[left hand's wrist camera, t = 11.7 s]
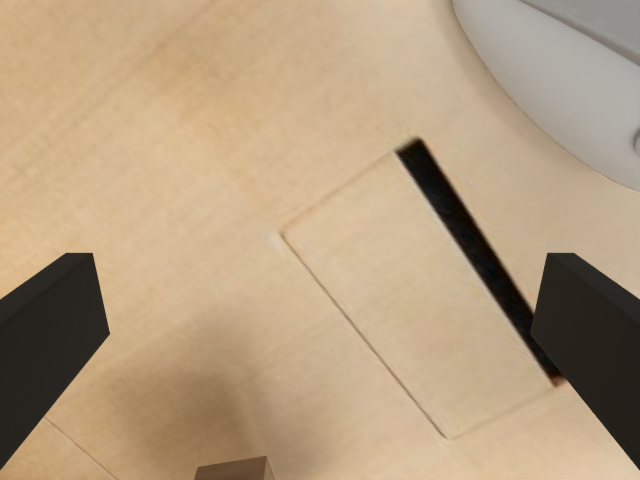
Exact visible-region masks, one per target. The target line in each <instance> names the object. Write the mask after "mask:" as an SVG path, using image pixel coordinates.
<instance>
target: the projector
mask: <svg viewBox="0 0 640 480" xmlns="http://www.w3.org/2000/svg"><path fill="white" fill-rule="evenodd" d="M452 4H453V9H454V12H455V14H456V17H457V19H458V21H459V23H460V25H461V27H462V29H463V31H464V33H465V34H466V36H467V38H468V40H469V41H470V43H471V45H472V46H473V48H474V49H475V51H476V53H477V54H478V56H479V57H480V59H481V60H482V62H483V63H484V64H485V66H486V67H487V69H488V70H489V72H490V73H491V74H492V76H493V77H494V78H495V80H496V81H497V82H498V84H499V85H500V86H501V87H502V89H503V90H504V91H505V92H506V93H507V95H508V96H509V97H510V98H511V99H512V100H513V102H514V103H515V104H516V105H517V106H518V107H519V108H520V109H521V110H522V111H523V112H524V113H525V114H526V115H527V116H528V117H529V118H530V119H531V120H532V121H533V122H534V123H535V124H536V125H537V126H538V127H539V128H540V129H542V130H543V131H544V132H545V133H546V134H547V135H548V136H549V137H551V138H552V139H553V140H554V141H555V142H557V143H558V144H559V145H560V146H561V147H563V148H564V149H565V150H567V151H568V152H569V153H571V154H572V155H573V156H575V157H576V158H577V159H579V160H580V161H582V162H583V163H584V164H586V165H587V166H589V167H590V168H592V169H593V170H595V171H597V172H598V173H600V174H601V175H603V176H605V177H607V178H608V179H610V180H612V181H614V182H616V183H618V184H620V185H623V186H625V187H627V188H630V189H633V190H636V191H640V0H452Z"/></svg>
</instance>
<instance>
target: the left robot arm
mask: <svg viewBox="0 0 640 480" xmlns="http://www.w3.org/2000/svg"><path fill="white" fill-rule="evenodd" d="M109 335H110V332H109V327H108V323H107V318H106V313H105V309H104V304H103V299H102V295H101V290H100V285H99V281H98V276H97V271H96V267H95V262H94V257H93V253H65V254H64V255H62V256H61V257H60V258H58V259H57V260H55V261H54V262H53V263H51V264H50V265H48V266H47V267H45V268H44V269H43V270H41V271H40V272H38V273H37V274H36V275H34V276H33V277H31V278H30V279H29V280H27V281H26V282H24V283H23V284H21V285H20V286H19V287H17V288H16V289H14V290H13V291H12V292H10V293H9V294H7V295H6V296H5V297H3V298H2V299H0V470H1V469H2V468H3V466H4V465H5V464H6V463H7V461H8V460H9V459H10V458H11V456H12V455H13V454H14V453H15V451H16V450H17V449H18V448H19V446H20V445H21V444H22V443H23V441H24V440H25V439H26V438H27V437H28V435H29V434H30V433H31V432H32V430H33V429H34V428H35V427H36V425H37V424H38V423H39V422H40V420H41V419H42V418H43V417H44V415H45V414H46V413H47V412H48V410H49V409H50V408H51V407H52V405H53V404H54V403H55V402H56V400H57V399H58V398H59V397H60V395H61V394H62V393H63V392H64V391H65V389H66V388H67V387H68V386H69V384H70V383H71V382H72V381H73V379H74V378H75V377H76V376H77V374H78V373H79V372H80V371H81V369H82V368H83V367H84V366H85V364H86V363H87V362H88V361H89V359H90V358H91V357H92V356H93V354H94V353H95V352H96V351H97V350H98V348H99V347H100V346H101V345H102V343H103V342H104V341H105V340H106V338H107V337H108V336H109ZM530 335H531V336H532V337H533V338H534V340H535V341H536V342H537V343H538V345H539V346H540V347H541V348H542V350H543V351H544V352H545V353H546V354H547V356H548V357H549V358H550V359H551V361H552V362H553V363H554V364H555V366H556V367H557V368H558V369H559V371H560V372H561V373H562V374H563V376H564V377H565V378H566V379H567V381H568V382H569V383H570V384H571V386H572V387H573V388H574V389H575V391H576V392H577V393H578V394H579V395H580V397H581V398H582V399H583V400H584V402H585V403H586V404H587V405H588V407H589V408H590V409H591V410H592V412H593V413H594V414H595V415H596V417H597V418H598V419H599V420H600V422H601V423H602V424H603V425H604V427H605V428H606V429H607V430H608V432H609V433H610V434H611V435H612V437H613V438H614V439H615V440H616V441H617V443H618V444H619V445H620V446H621V448H622V449H623V450H624V451H625V453H626V454H627V455H628V456H629V458H630V459H631V460H632V461H633V463H634V464H635V465H636V466H637V468H638V469H639V470H640V299H638V298H637V297H635V296H634V295H633V294H631V293H630V292H628V291H627V290H626V289H624V288H623V287H621V286H620V285H619V284H617V283H616V282H614V281H613V280H611V279H610V278H609V277H607V276H606V275H604V274H603V273H602V272H600V271H599V270H597V269H596V268H595V267H593V266H592V265H590V264H589V263H587V262H586V261H585V260H583V259H582V258H580V257H579V256H578V255H576V254H575V253H547V257H546V262H545V267H544V271H543V276H542V281H541V285H540V290H539V295H538V299H537V304H536V309H535V313H534V318H533V323H532V327H531V332H530Z"/></svg>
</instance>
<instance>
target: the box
mask: <svg viewBox="0 0 640 480" xmlns="http://www.w3.org/2000/svg"><path fill="white" fill-rule="evenodd" d="M194 480H274V477H273V474H272V471H271V468H270V465H269V462H268V459H267V456H263V457H257V458H251V459H245V460H239V461H233V462H227V463H221V464H214V465H208V466H202V467H198V469H197V472H196V476H195V479H194Z"/></svg>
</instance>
